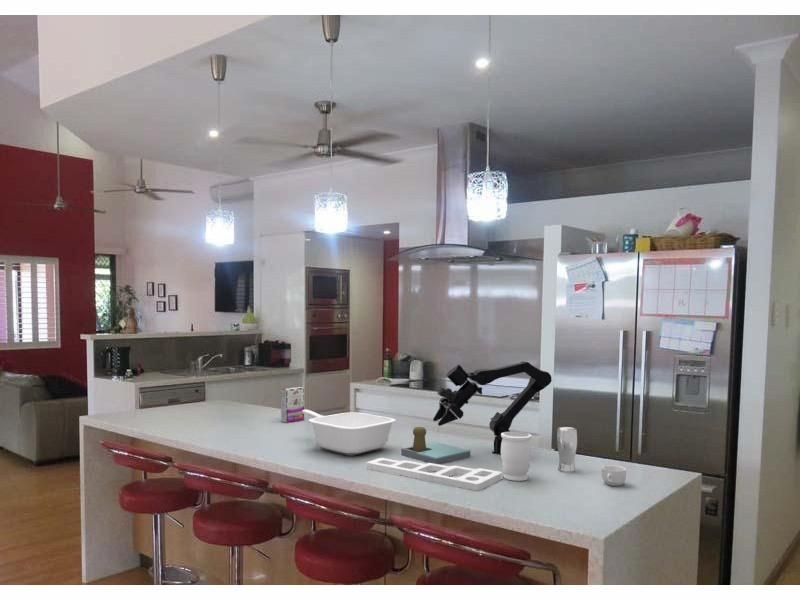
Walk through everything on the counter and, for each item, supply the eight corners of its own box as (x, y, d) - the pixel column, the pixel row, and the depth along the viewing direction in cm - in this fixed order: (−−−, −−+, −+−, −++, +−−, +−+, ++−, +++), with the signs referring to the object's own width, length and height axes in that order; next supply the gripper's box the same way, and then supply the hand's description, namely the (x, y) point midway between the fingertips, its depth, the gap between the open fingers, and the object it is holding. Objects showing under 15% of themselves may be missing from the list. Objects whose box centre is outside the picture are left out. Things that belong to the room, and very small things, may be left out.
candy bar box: (298, 419, 320) (298, 386, 320) (304, 420, 316) (304, 387, 316) (280, 421, 311) (280, 388, 311) (286, 423, 308) (287, 389, 308)
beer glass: (577, 469, 229) (577, 427, 229) (576, 473, 222) (576, 431, 222) (557, 467, 231) (558, 426, 231) (555, 472, 224) (556, 429, 224)
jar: (531, 483, 210) (531, 438, 210) (499, 481, 212) (500, 436, 212) (531, 474, 220) (531, 431, 220) (501, 473, 222) (501, 430, 222)
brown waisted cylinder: (410, 453, 249) (411, 425, 249) (426, 453, 250) (426, 425, 250) (412, 457, 243) (412, 428, 243) (428, 457, 244) (428, 428, 244)
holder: (365, 470, 226) (366, 462, 226) (394, 460, 241) (395, 453, 241) (477, 492, 200) (477, 484, 200) (502, 480, 215) (502, 472, 215)
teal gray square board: (470, 456, 245) (470, 450, 245) (436, 464, 233) (436, 457, 233) (435, 447, 259) (435, 441, 259) (401, 455, 247) (401, 448, 247)
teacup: (606, 479, 215) (606, 463, 215) (629, 483, 211) (629, 467, 211) (596, 486, 207) (596, 470, 207) (619, 490, 203) (619, 473, 203)
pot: (351, 462, 234) (351, 428, 234) (277, 443, 264) (277, 413, 264) (401, 449, 256) (402, 418, 256) (328, 433, 285) (328, 405, 285)
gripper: (444, 377, 257) (417, 404, 256) (455, 383, 239) (426, 412, 237) (463, 396, 259) (436, 423, 257) (475, 403, 240) (446, 433, 238)
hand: (436, 422), depth 247 cm, fingers open, 9 cm apart
